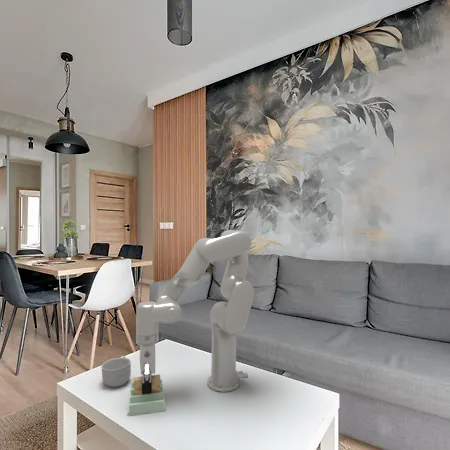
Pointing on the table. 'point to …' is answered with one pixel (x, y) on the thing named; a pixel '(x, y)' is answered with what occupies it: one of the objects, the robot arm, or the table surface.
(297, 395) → the table surface
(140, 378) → the oak board
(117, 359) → the teacup
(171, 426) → the table surface
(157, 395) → the dish rack
